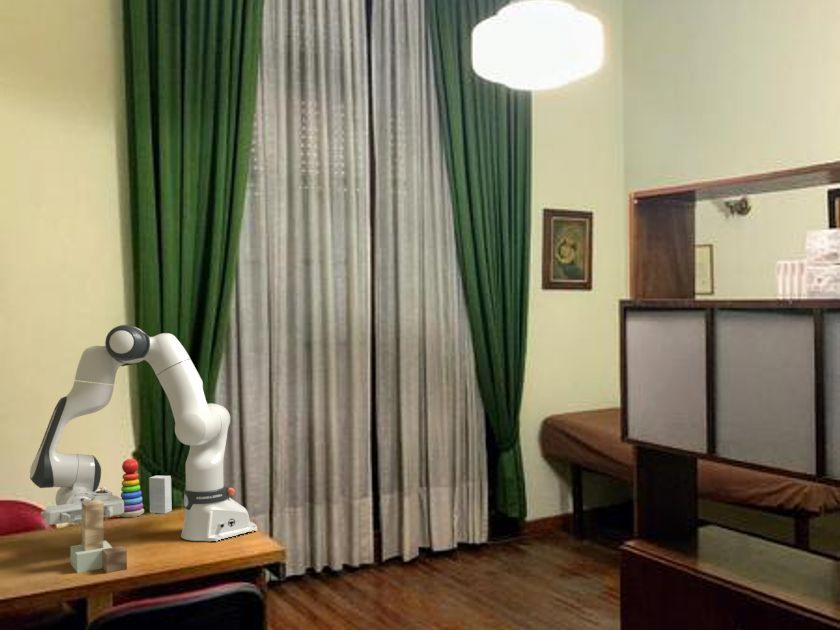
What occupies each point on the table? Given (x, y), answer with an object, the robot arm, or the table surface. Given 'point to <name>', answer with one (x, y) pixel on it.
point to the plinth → (87, 558)
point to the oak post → (92, 525)
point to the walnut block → (114, 559)
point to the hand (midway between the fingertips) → (90, 516)
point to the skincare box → (160, 494)
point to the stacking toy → (131, 490)
